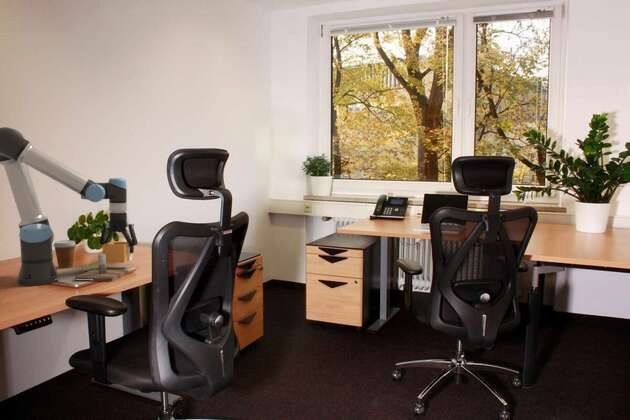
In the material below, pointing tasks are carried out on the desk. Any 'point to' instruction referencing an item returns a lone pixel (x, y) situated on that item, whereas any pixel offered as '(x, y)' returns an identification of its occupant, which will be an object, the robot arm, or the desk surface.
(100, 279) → the keeper
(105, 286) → the desk surface
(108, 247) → the open cardboard box
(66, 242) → the disposable coffee cup
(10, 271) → the desk surface
